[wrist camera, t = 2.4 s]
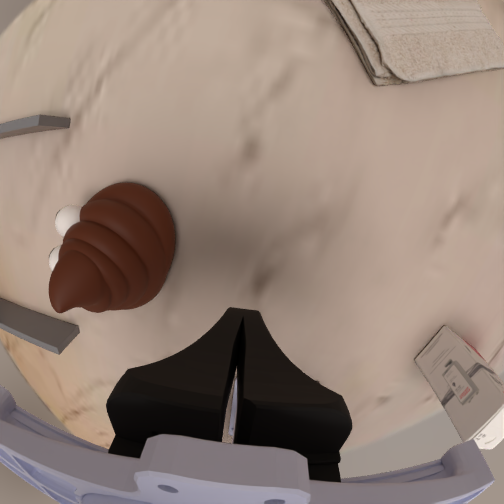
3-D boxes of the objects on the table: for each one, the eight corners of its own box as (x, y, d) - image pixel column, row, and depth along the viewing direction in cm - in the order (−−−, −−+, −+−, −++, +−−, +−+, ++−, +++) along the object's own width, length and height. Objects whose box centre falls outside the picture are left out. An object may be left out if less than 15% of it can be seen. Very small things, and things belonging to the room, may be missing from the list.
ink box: (476, 349, 23) (529, 413, 12) (449, 380, 24) (493, 450, 13) (443, 322, 22) (510, 401, 11) (411, 360, 23) (462, 447, 12)
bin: (79, 332, 24) (59, 354, 20) (-4, 301, 24) (-23, 315, 20) (70, 118, 18) (39, 114, 14) (-17, 135, 17) (-42, 137, 14)
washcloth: (300, -20, 14) (305, -40, 11) (446, -25, 11) (460, -36, 8) (373, 98, 17) (390, 90, 14) (502, 70, 14) (521, 66, 11)
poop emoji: (155, 316, 23) (109, 391, 14) (75, 272, 22) (7, 322, 13) (198, 207, 20) (148, 244, 11) (102, 164, 19) (16, 173, 10)
